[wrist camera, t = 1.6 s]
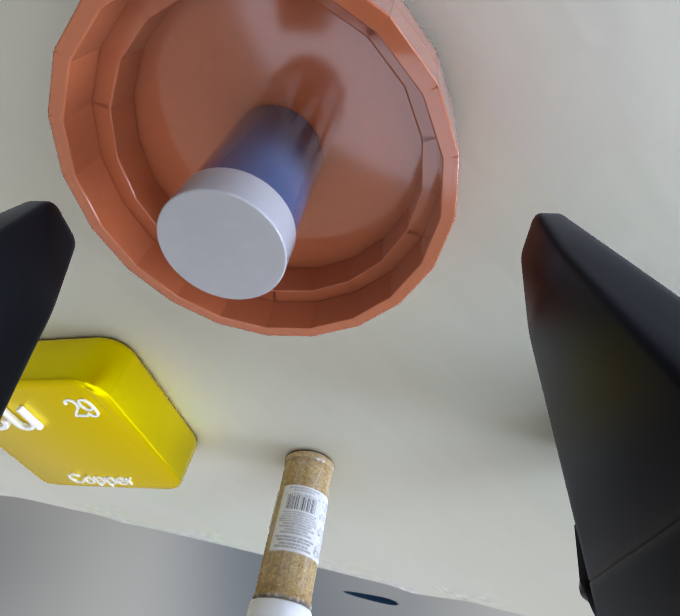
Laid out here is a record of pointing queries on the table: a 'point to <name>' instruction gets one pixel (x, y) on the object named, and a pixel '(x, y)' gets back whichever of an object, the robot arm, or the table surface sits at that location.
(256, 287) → the salt shaker
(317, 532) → the sprinkles bottle
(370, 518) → the table surface
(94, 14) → the bowl
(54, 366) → the element tile
